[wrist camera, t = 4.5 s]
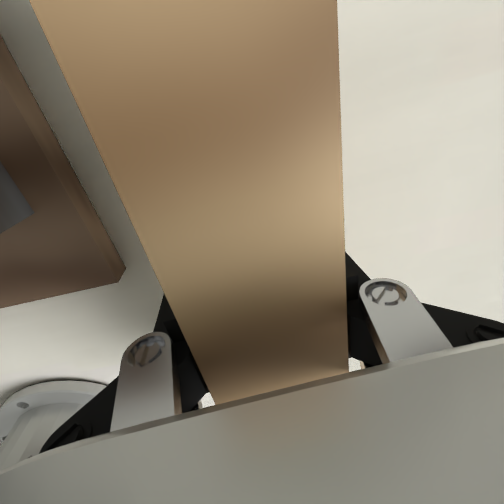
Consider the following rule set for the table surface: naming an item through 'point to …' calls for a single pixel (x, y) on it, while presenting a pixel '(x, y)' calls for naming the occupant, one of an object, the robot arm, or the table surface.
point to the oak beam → (224, 170)
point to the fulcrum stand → (43, 207)
